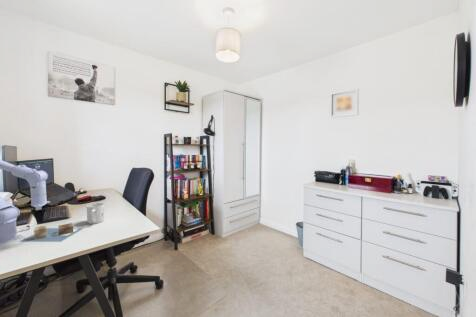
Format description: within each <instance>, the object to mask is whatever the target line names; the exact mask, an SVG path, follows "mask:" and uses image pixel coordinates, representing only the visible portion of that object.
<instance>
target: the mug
mask: <svg viewBox="0 0 476 317" xmlns="http://www.w3.org/2000/svg"><path fill="white" fill-rule="evenodd" d="M104 220H105V203H102V202H94V203H90V204H87V205H86V222H87V224H88V225H96V224H100V223H102V222H103V221H104Z"/></svg>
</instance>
